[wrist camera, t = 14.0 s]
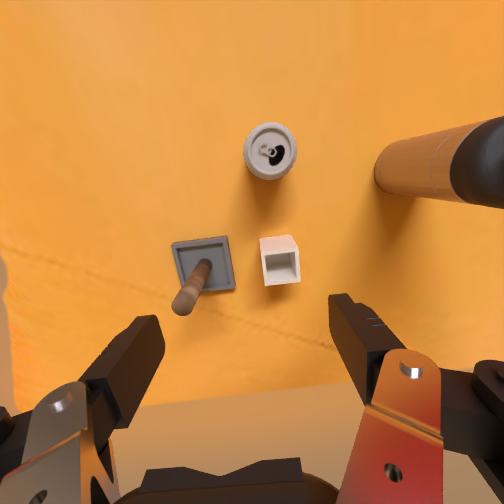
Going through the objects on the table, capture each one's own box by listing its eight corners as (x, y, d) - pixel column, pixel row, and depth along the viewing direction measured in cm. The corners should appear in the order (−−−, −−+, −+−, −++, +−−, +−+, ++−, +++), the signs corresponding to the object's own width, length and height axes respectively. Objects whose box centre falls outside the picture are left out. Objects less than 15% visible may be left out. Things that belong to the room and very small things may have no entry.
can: (272, 186, 44) (278, 191, 32) (237, 164, 42) (232, 160, 31) (295, 150, 42) (310, 140, 30) (259, 125, 40) (262, 106, 29)
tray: (227, 235, 47) (226, 238, 45) (235, 284, 50) (234, 288, 48) (173, 242, 47) (170, 245, 45) (185, 290, 51) (183, 294, 49)
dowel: (210, 257, 47) (189, 296, 32) (213, 270, 48) (194, 314, 33) (196, 259, 48) (169, 298, 32) (199, 272, 49) (174, 316, 33)
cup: (289, 234, 46) (298, 247, 38) (292, 262, 48) (300, 281, 40) (259, 238, 47) (260, 252, 38) (263, 266, 49) (265, 286, 40)
